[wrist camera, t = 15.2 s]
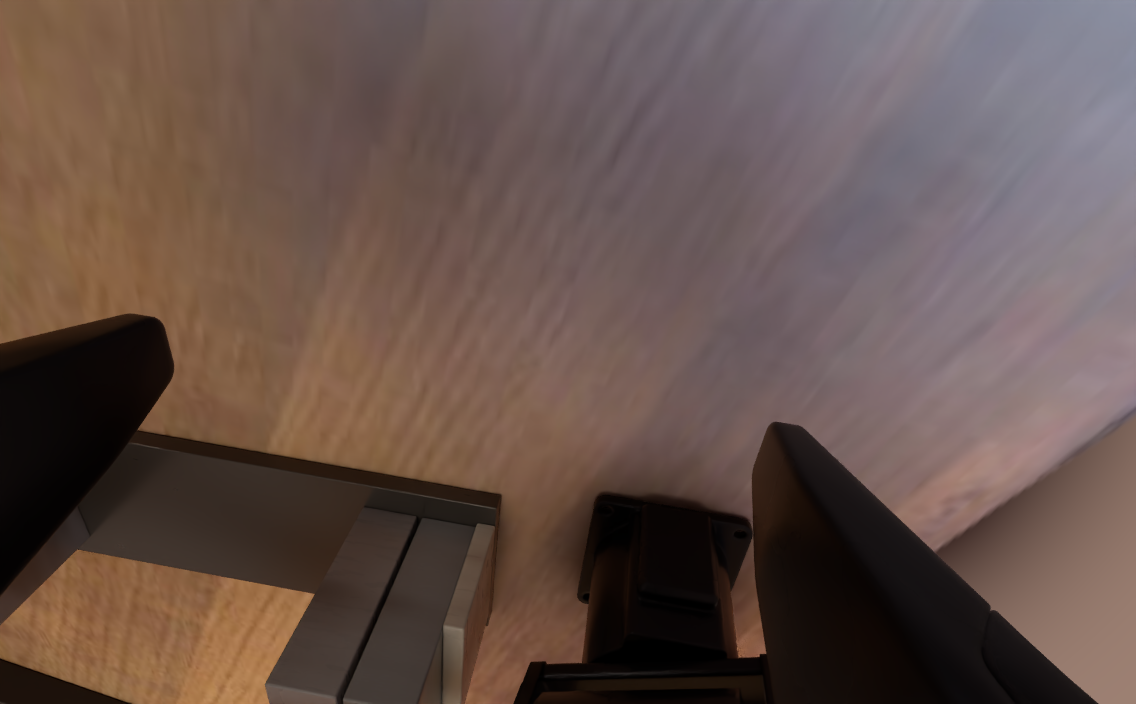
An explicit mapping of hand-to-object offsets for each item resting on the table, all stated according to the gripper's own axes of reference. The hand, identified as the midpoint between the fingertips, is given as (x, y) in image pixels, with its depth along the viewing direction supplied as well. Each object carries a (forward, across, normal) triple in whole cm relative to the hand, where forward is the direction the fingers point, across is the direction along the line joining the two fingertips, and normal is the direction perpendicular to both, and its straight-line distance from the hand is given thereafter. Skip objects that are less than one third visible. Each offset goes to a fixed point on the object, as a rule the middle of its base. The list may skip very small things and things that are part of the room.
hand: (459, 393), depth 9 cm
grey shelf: (+12, +14, +18) cm, 26 cm away
